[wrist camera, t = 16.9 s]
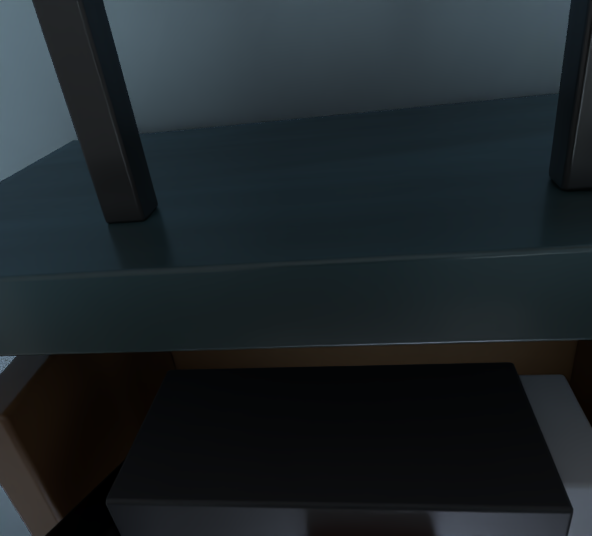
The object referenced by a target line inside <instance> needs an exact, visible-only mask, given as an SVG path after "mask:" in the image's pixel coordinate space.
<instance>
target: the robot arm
mask: <svg viewBox="0 0 592 536" xmlns="http://www.w3.org/2000/svg"><path fill="white" fill-rule="evenodd" d="M123 462H124V460H123V461H122V462H121V463H120V464H119V465H118V466H117V467H116V468H115V469H114V470H113V471H112V472H111V473H110V474H109V475H108V476H107V477H106V478H105V479H104V480H103V481H101V482H100V483H99V484H98V485H97V486H96V487H95V488H94V489H93V490H92V491H91V492H90V493H89V494H88V495H87V496H86V497H85V498H84V499H83V500H82V501H81V502H79V503H78V504H77V505H76V506H75V507H74V508H73V509H72V510H71V511H70V512H69V513H68V514H67V515H66V516H65V517H64V518H63V519H62V520H61V521H60V522H58V523H57V524H56V525H55V526H54V527H53V528H52V529H51V530H50V531H49V532H48V533H47V534H46V535H45V536H121V535H120V533H119V531H118V529H117V527H116V525H115V523H114V521H113V518H112V516H111V514H110V512H109V510H108V508H107V506H106V498H107V496H108V493H109V491H110V489H111V487H112V485H113V483H114V481H115V479H116V477H117V475H118V473H119V471H120V469H121V466H122V464H123Z"/></svg>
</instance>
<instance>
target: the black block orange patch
mask: <svg viewBox="0 0 592 536" xmlns="http://www.w3.org/2000/svg"><path fill="white" fill-rule="evenodd" d="M106 506H107V508H108V510H109V512H110V514H111V516H112V518H113V521H114V523H115V525H116V527H117V529H118V531H119V533H120V535H121V536H592V427H591V425H590V423H589V421H588V419H587V418H586V416H585V414H584V412H583V410H582V408H581V406H580V404H579V402H578V401H577V399H576V397H575V395H574V393H573V391H572V389H571V387H570V385H569V383H568V382H567V380H566V378H565V376H564V375H561V374H550V375H518V373H517V370H516V368H515V366H514V364H513V363H511V362H494V363H450V364H405V365H361V366H317V367H272V368H228V369H183V370H169V371H167V373H166V375H165V377H164V379H163V381H162V383H161V385H160V388H159V390H158V392H157V394H156V396H155V398H154V400H153V402H152V404H151V406H150V408H149V410H148V412H147V415H146V417H145V419H144V421H143V423H142V425H141V427H140V429H139V431H138V433H137V435H136V437H135V439H134V442H133V444H132V446H131V448H130V450H129V452H128V454H127V456H126V458H125V460H124V462H123V464H122V466H121V469H120V471H119V473H118V475H117V477H116V479H115V481H114V483H113V485H112V487H111V489H110V491H109V493H108V496H107V498H106Z"/></svg>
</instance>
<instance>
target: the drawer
mask: <svg viewBox="0 0 592 536" xmlns="http://www.w3.org/2000/svg"><path fill="white" fill-rule="evenodd" d="M32 2H33V5H34V8H35V11H36V14H37V17H38V20H39V23H40V26H41V29H42V32H43V35H44V38H45V41H46V44H47V47H48V50H49V53H50V56H51V59H52V62H53V65H54V68H55V71H56V74H57V77H58V80H59V83H60V86H61V89H62V92H63V95H64V98H65V101H66V104H67V107H68V110H69V113H70V116H71V119H72V122H73V125H74V128H75V131H76V134H77V137H78V140H74V141H71V142H70V143H68V144H66V145H64V146H63V147H61V148H59V149H57V150H56V151H54V152H52V153H50V154H49V155H47V156H45V157H43V158H42V159H40V160H38V161H36V162H34V163H33V164H31V165H29V166H27V167H26V168H24V169H22V170H20V171H19V172H17V173H15V174H13V175H12V176H10V177H8V178H6V179H4V180H3V181H1V182H0V356H16V357H15V358H14V359H13V360H12V362H11V363H10V364H9V365H8V366H7V367H6V368H5V369H4V370H3V372H2V373H1V374H0V484H1V486H2V488H3V489H4V491H5V493H6V494H7V496H8V498H9V499H10V501H11V502H12V504H13V506H14V507H15V509H16V511H17V512H18V514H19V515H20V517H21V519H22V520H23V522H24V524H25V525H26V527H27V528H28V530H29V532H30V533H31V535H32V536H45V535H46V534H47V533H48V532H49V531H50V530H51V529H52V528H53V527H54V526H55V525H56V524H57V523H58V522H60V521H61V520H62V519H63V518H64V517H65V516H66V515H67V514H68V513H69V512H70V511H71V510H72V509H73V508H74V507H75V506H76V505H77V504H78V503H79V502H81V501H82V500H83V499H84V498H85V497H86V496H87V495H88V494H89V493H90V492H91V491H92V490H93V489H94V488H95V487H96V486H97V485H98V484H99V483H100V482H101V481H103V480H104V479H105V478H106V477H107V476H108V475H109V474H110V473H111V472H112V471H113V470H114V469H115V468H116V467H117V466H118V465H119V464H120V463H121V462H122V461H123V460H125V458H126V456H127V454H128V452H129V450H130V448H131V446H132V444H133V442H134V439H135V437H136V435H137V433H138V431H139V429H140V427H141V425H142V423H143V421H144V419H145V417H146V415H147V412H148V410H149V408H150V406H151V404H152V402H153V400H154V398H155V396H156V394H157V392H158V390H159V388H160V385H161V383H162V381H163V379H164V377H165V375H166V373H167V371H169V370H183V369H228V368H272V367H317V366H361V365H405V364H450V363H494V362H511V363H513V364H514V366H515V368H516V370H517V373H518V375H550V374H561V375H564V376H565V378H566V380H567V382H568V383H569V385H570V387H571V389H572V391H573V393H574V395H575V397H576V399H577V401H578V402H579V404H580V406H581V408H582V410H583V412H584V414H585V416H586V418H587V419H588V421H589V423H590V425H591V427H592V0H571V5H570V13H569V20H568V28H567V36H566V43H565V51H564V59H563V66H562V74H561V82H560V89H559V93H558V94H548V95H538V96H527V97H517V98H507V99H496V100H486V101H476V102H466V103H455V104H445V105H435V106H424V107H414V108H404V109H394V110H383V111H373V112H363V113H352V114H342V115H332V116H321V117H311V118H301V119H291V120H280V121H270V122H260V123H249V124H239V125H229V126H218V127H208V128H198V129H188V130H177V131H167V132H157V133H146V134H139V132H138V128H137V124H136V121H135V117H134V113H133V110H132V106H131V102H130V99H129V95H128V91H127V88H126V84H125V80H124V77H123V73H122V69H121V65H120V62H119V58H118V54H117V51H116V47H115V43H114V40H113V36H112V32H111V29H110V25H109V21H108V18H107V14H106V10H105V7H104V3H103V0H32Z"/></svg>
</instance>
